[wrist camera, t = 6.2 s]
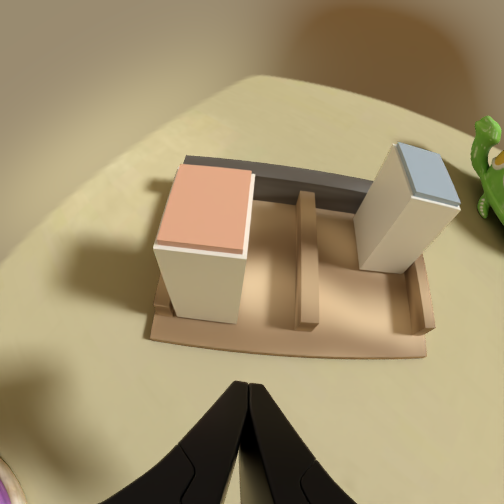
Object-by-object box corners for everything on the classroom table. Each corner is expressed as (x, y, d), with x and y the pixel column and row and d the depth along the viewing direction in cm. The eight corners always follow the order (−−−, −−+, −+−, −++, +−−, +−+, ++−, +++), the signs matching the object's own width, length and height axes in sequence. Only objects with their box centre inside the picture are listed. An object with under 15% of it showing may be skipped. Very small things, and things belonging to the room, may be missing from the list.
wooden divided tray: (422, 357, 21) (449, 345, 18) (151, 340, 20) (139, 324, 17) (398, 212, 28) (414, 189, 25) (188, 183, 27) (186, 154, 24)
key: (236, 324, 20) (247, 254, 13) (177, 316, 20) (151, 243, 12) (243, 258, 23) (256, 168, 15) (189, 252, 23) (177, 161, 15)
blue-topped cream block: (402, 273, 23) (463, 206, 16) (359, 269, 23) (414, 193, 16) (392, 224, 26) (440, 153, 18) (353, 218, 26) (394, 139, 18)
